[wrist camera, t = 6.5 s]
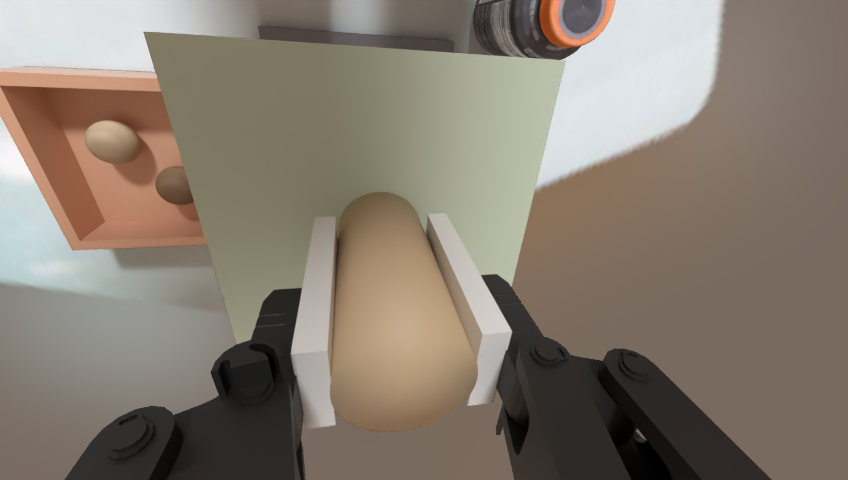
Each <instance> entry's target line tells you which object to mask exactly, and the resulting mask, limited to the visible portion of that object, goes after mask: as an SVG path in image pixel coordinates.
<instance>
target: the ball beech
mask: <svg viewBox="0 0 848 480" xmlns="http://www.w3.org/2000/svg"><path fill="white" fill-rule="evenodd" d="M85 144H86V146H87V148H88V150H89V151H90V152H91V153H92V154H93V155H94V156H95V157H97V158H98V159H100V160H102V161H104V162H107V163H111V164H126V163H129V162H132V161H133V160H135V159H136V158H137V157H138V156H139V154H140V153H141V149H142V144H141V140H140V138H139V136H138V134H137V133H136V132H135V131H134V130H133V129H132V128H130V127H129V126H127V125H125V124H123V123H121V122H117V121H111V120H104V121H99V122H96V123H94V124H92V125H91V126H90V127H89V128H88V129H87V131H86V133H85Z"/></svg>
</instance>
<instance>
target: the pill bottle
mask: <svg viewBox="0 0 848 480" xmlns="http://www.w3.org/2000/svg"><path fill="white" fill-rule="evenodd" d="M614 5H615V0H477V2H476V5H475V9H474V20H473V23H474V29H475V34H476V37H477V39H478V41H479V43H480V44H481V46H482V47H483V48H484V49H485V50H486V51H487V52H489V53H490V54H492V55H494V56H507V57H522V58H536V59H551V60H561V59H564V58H566V57H568V56H570V55H571V54H573V53H574V52H576V51H577V50H578V49H579V48H580V47H581V46H582V45H585V44H587V43H589V42H591V41H592V40H594V39H595V38H596V37H597V36H598V35H599V34H600V33H601V32H602V31H603V30H604V28H605V27H606V25H607V24H608V22H609V20H610V18H611V15H612V12H613V10H614Z"/></svg>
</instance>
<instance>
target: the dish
mask: <svg viewBox="0 0 848 480" xmlns="http://www.w3.org/2000/svg"><path fill="white" fill-rule="evenodd" d="M0 116H1V118H2V120H3V122H4V123H5V125H6V127H7V129H8V131H9V133H10V135H11V136H12V138H13V140H14V142H15V144H16V146H17V148H18V150H19V151H20V153H21V155H22V157H23V159H24V161H25V163H26V165H27V166H28V168H29V170H30V172H31V174H32V176H33V178H34V179H35V181H36V183H37V185H38V187H39V189H40V191H41V193H42V194H43V196H44V198H45V200H46V202H47V204H48V206H49V208H50V209H51V211H52V213H53V215H54V217H55V219H56V221H57V222H58V224H59V226H60V228H61V230H62V232H63V234H64V236H65V237H66V239H67V241H68V243H69V245H70V247H71V249H72V250H91V249H115V248H140V247H164V246H188V245H207V243H206V240H205V237H204V233H203V230H202V227H201V223H200V220H199V216H198V213H197V210H196V206H195V203H194V202H193V203H191V204H187V205H175V204H171V203H169V202H167V201H165V200H164V199H163V198H162V197H161V196H160V195H159V194H158V192H157V190H156V187H155V181H156V178H157V176H158V174H159V173H160V172H161V171H162V170H164V169H166V168H168V167H172V166H182V167H184V166H183V163H182V159H181V156H180V153H179V149H178V146H177V143H176V139H175V136H174V133H173V129H172V126H171V122H170V119H169V116H168V112H167V109H166V106H165V102H164V99H163V96H162V92H161V89H160V86H159V82H158V79H157V75H156V72H141V71H121V70H100V69H79V68H58V67H37V66H23V67H12V68H0ZM104 120H111V121H117V122H121V123H123V124H125V125H127V126H129V127H130V128H132V129H133V130H134V131H135V132H136V133H137V134H138V136H139V138H140V140H141V144H142V149H141V153H140V154H139V156H138V157H137V158H136V159H135V160H133V161H132V162H129V163H126V164H111V163H107V162H104V161H102V160H100V159H98V158H97V157H95V156H94V155H93V154H92V153H91V152H90V151H89V150H88V148H87V146H86V144H85V133H86V131H87V129H88V128H89V127H90V126H91V125H92V124H94V123H96V122H99V121H104Z"/></svg>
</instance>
